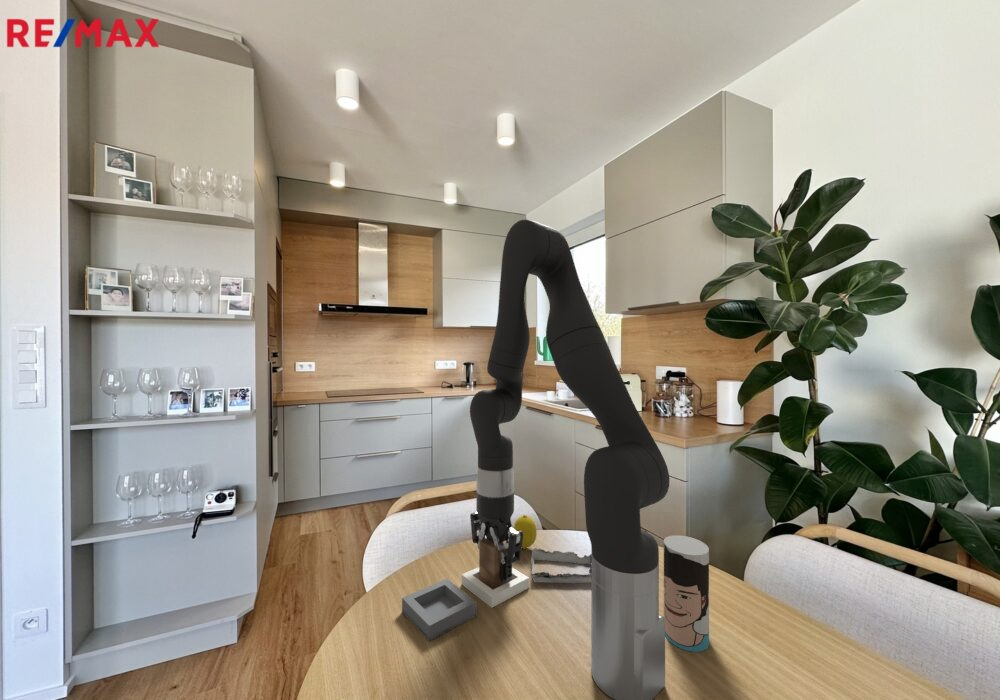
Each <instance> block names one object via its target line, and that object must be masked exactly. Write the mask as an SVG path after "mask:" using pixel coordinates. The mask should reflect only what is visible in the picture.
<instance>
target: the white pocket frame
mask: <svg viewBox="0 0 1000 700" xmlns="http://www.w3.org/2000/svg"><path fill="white" fill-rule="evenodd" d="M461 585H462V586H463V587H464V588H466V589H467V590H468V591H469V592H471V593H472V594H473V595H474V596H476V597H477V598H479V600H481V601H482V602H484V603H485V604H486V605H487V606H489V607H490V608H493V607H494V608H495V607H496V606H498V605H500V604H501V603H504V602H505V601H507V600H509V599H511V598H512V597H514V596H517V595H519V594H520V593H522V592H524V591H525V590H527V589H529V588H530V577H529V576H527V575H525V574H524V573H522V572H520V571H519V570H517V569H515V568H514V567H512V578H511V581H510V582H508V583H506V584H504V585H502V586H500V587H498V588H496V589H494V590H492V589H491V588H490V587H488V586H487V585H485V584H484V583H483V582H481V581H480V580H479V566H478V567H475V568H474V569H471V570H468V571H467V572H464V573H462V574H461Z"/></svg>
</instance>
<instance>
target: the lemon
mask: <svg viewBox="0 0 1000 700" xmlns="http://www.w3.org/2000/svg"><path fill="white" fill-rule="evenodd" d="M512 528H513V529H514V530H515V531H520V530H521V531H522V532H523V541H522V548H523V550H527V548H530V547H531V546H533V545H534V543H535V541H536V539H537V535H538V534H537V525H536V522H535V520H533V518H532V517H530V516H528V515H526V514H523V515H521V516H519V517H518V518H517V519H516V520H515V522H514V525H513V527H512Z"/></svg>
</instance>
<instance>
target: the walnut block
mask: <svg viewBox="0 0 1000 700" xmlns="http://www.w3.org/2000/svg"><path fill="white" fill-rule="evenodd" d="M505 543H506V540H505V541H504V542H501V543H500V545H504V544H505ZM478 551H479V553H478V555H479V556H478V557H479V558H478V559H479V563H478V564H479V566H478V567H479V580H480V581H481V582H483V583H484V584H485V585H487V586H488V587H490V588H491V589H492V590H494V589H496V588H498V587H500V586H502V585H504V584H506V583H508V582H510V581H511V579H510V580H509V581H507V582H505V583H503V582H502V581H500V563H501V560H500V556H499V552H498V551H496V548H495V545H494V542H493V541H492V540H488V539H487V538H485V539H483V540H479V549H478ZM504 553H505V556H506V555H507V550H506V549H505V550H504Z"/></svg>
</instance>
